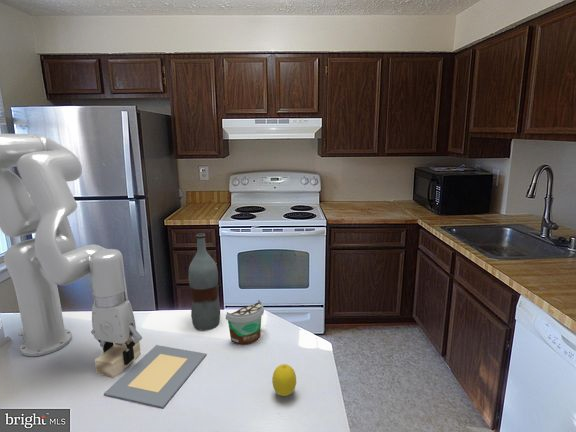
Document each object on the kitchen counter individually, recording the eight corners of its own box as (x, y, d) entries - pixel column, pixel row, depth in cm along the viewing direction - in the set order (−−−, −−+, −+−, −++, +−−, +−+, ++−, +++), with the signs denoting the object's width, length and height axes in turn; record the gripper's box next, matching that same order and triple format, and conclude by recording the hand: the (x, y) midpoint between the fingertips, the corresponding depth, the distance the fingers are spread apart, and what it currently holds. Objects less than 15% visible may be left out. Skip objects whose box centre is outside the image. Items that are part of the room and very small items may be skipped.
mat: (103, 395, 82) (103, 393, 82) (156, 346, 101) (156, 344, 100) (163, 408, 78) (163, 406, 78) (206, 355, 96) (206, 353, 96)
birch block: (96, 373, 89) (94, 359, 88) (124, 350, 99) (122, 337, 98) (114, 377, 88) (112, 362, 87) (140, 353, 97) (139, 340, 96)
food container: (238, 353, 97) (237, 320, 95) (226, 343, 102) (225, 312, 100) (272, 336, 105) (272, 306, 103) (260, 328, 110) (259, 299, 107)
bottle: (213, 333, 107) (207, 239, 100) (186, 329, 109) (179, 238, 102) (225, 317, 116) (220, 231, 109) (200, 314, 118) (194, 229, 111)
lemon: (277, 406, 78) (277, 375, 76) (269, 390, 83) (268, 361, 81) (300, 399, 80) (300, 369, 78) (290, 384, 85) (290, 355, 83)
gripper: (71, 300, 88) (82, 363, 92) (129, 308, 83) (137, 374, 87) (95, 288, 95) (103, 347, 99) (149, 294, 90) (156, 356, 94)
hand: (119, 359), depth 93 cm, fingers closed on birch block, 5 cm apart
